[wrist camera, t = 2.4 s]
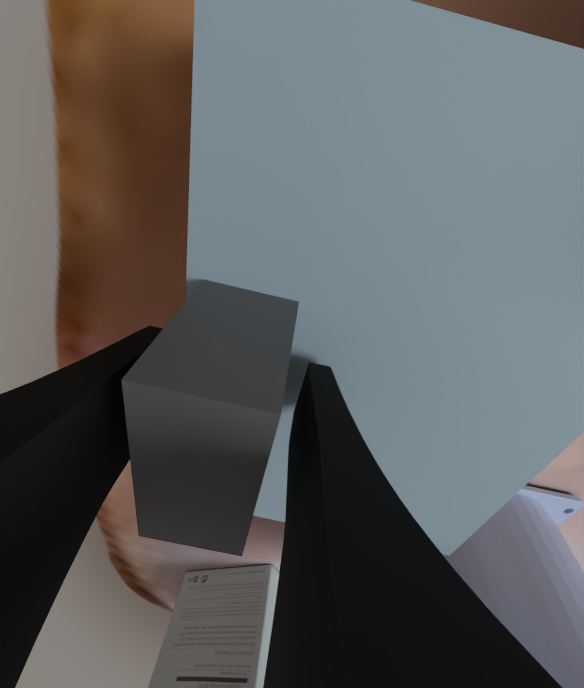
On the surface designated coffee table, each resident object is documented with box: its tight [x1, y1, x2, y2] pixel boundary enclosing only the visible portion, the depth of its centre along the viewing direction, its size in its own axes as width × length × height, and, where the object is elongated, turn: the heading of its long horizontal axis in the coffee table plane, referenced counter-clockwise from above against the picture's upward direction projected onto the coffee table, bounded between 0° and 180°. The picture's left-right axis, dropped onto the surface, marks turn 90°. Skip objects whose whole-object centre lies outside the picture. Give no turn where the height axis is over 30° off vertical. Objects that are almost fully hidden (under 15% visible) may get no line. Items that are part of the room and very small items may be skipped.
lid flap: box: [122, 0, 584, 556], centre depth 9 cm, size 16×12×5 cm
